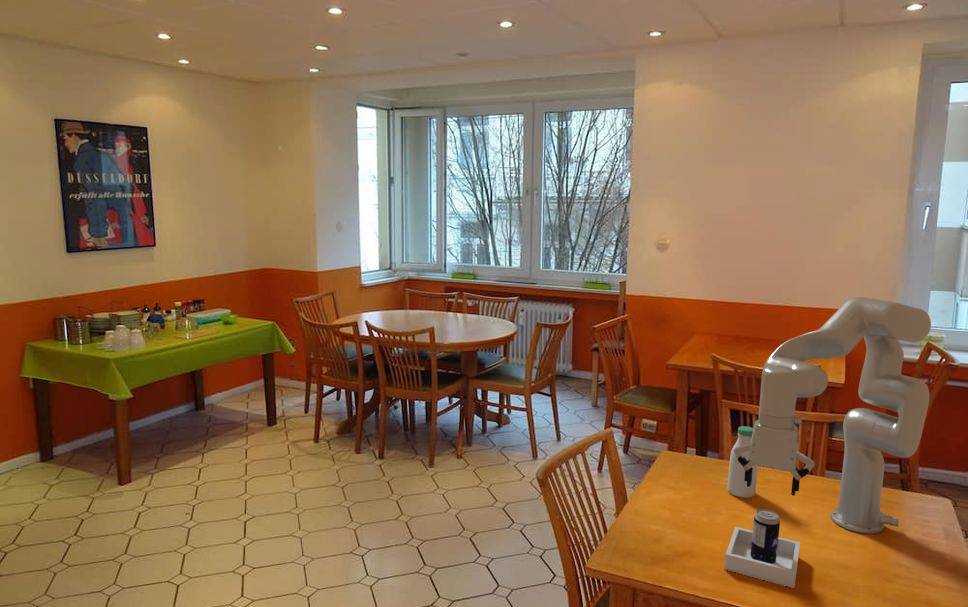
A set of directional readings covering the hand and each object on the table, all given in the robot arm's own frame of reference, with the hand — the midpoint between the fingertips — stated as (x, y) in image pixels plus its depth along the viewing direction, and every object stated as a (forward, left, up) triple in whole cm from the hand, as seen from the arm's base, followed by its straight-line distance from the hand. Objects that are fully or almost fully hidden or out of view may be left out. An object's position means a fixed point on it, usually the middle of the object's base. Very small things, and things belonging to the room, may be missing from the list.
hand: (770, 488), depth 156 cm
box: (0, +1, -19) cm, 19 cm away
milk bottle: (+10, -37, -19) cm, 43 cm away
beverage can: (0, 0, -19) cm, 19 cm away
